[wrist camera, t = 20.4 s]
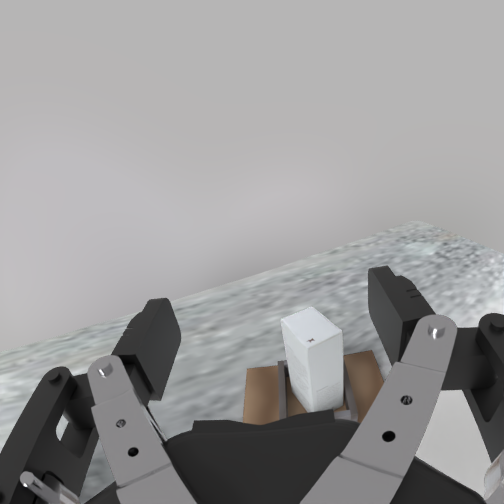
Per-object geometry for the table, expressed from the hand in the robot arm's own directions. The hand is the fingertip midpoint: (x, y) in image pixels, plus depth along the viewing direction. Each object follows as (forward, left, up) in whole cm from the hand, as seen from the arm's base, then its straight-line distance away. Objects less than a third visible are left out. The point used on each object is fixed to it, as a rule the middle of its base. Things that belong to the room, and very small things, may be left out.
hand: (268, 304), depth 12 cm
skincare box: (+2, +15, -25) cm, 29 cm away
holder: (+2, +15, -26) cm, 30 cm away
